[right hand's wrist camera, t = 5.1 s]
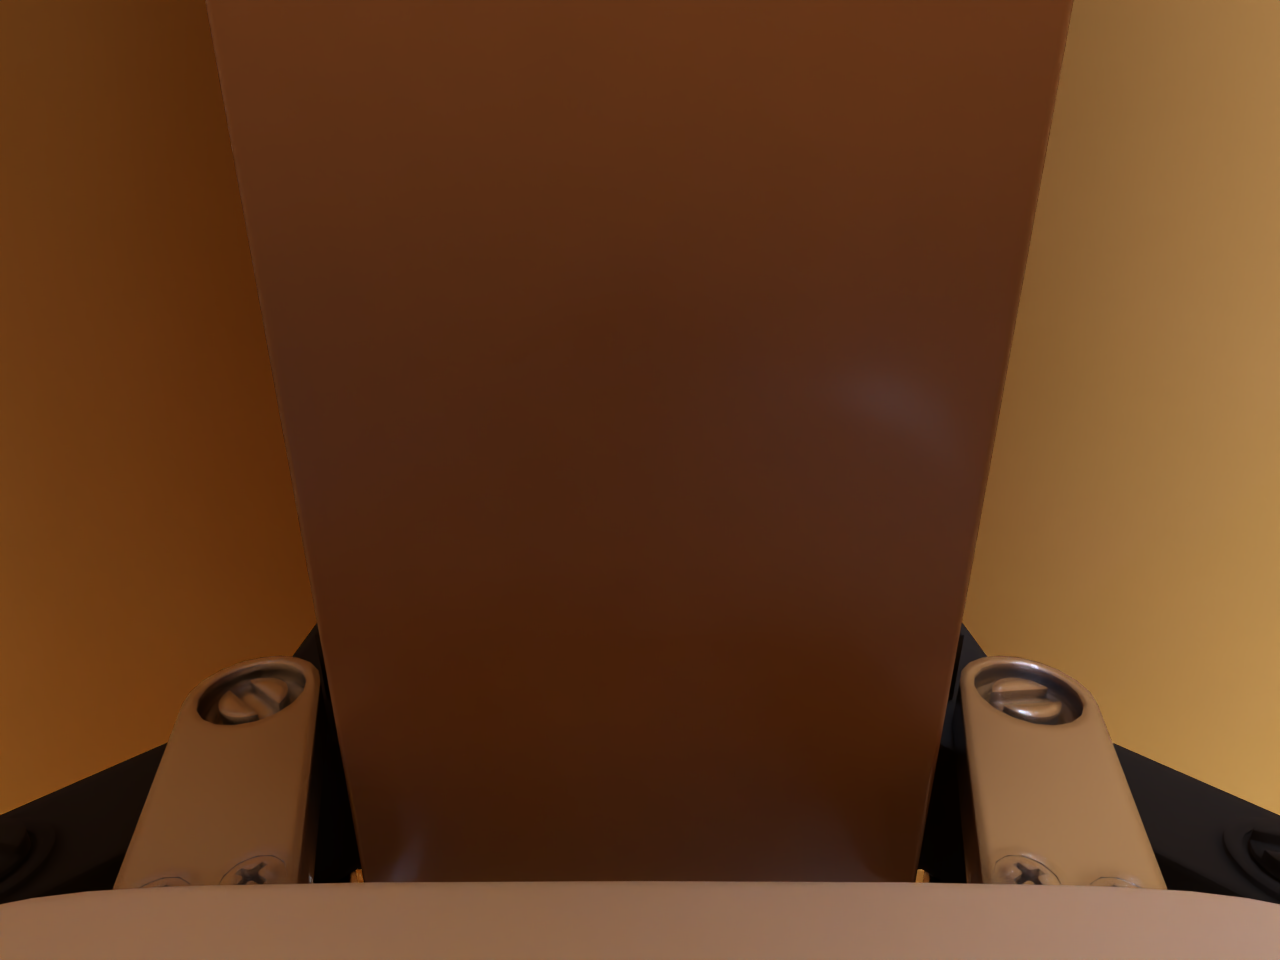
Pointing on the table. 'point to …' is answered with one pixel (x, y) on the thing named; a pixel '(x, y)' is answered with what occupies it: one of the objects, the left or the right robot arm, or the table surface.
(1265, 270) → the table surface
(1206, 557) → the table surface
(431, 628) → the post
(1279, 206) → the table surface
